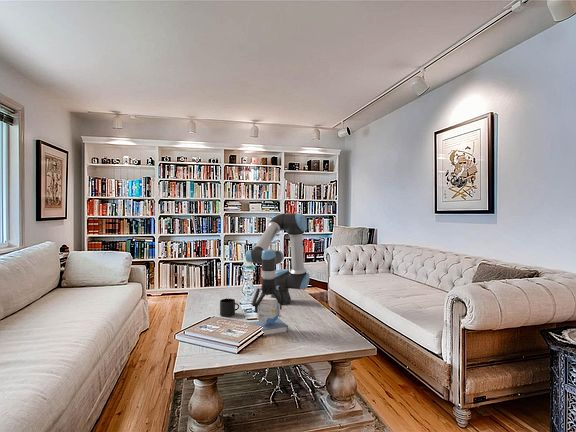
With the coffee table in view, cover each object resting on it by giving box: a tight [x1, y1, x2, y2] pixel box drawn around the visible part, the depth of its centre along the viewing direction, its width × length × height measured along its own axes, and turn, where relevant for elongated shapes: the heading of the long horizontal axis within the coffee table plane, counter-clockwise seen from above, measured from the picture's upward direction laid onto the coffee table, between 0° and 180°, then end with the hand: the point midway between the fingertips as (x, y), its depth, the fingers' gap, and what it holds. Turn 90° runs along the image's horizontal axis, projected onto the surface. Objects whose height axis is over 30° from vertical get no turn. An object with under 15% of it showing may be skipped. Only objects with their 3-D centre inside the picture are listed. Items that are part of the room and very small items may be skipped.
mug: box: [219, 298, 240, 318], centre depth 203 cm, size 9×12×9 cm
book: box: [249, 317, 289, 337], centre depth 178 cm, size 18×13×4 cm
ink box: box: [258, 296, 279, 323], centre depth 178 cm, size 9×8×12 cm
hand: (268, 316), depth 178 cm, fingers closed on ink box, 11 cm apart
